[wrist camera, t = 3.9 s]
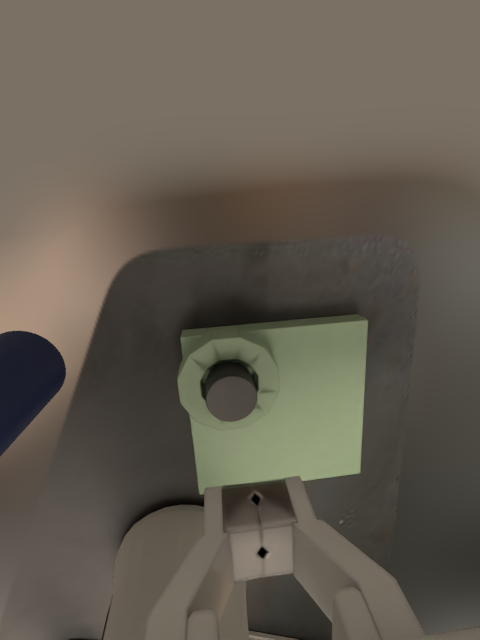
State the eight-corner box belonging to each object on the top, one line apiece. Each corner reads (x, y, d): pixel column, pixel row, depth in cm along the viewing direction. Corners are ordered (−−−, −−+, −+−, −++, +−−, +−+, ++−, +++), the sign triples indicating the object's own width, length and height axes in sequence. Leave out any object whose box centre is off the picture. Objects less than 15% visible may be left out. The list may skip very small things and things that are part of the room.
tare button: (207, 406, 18) (208, 424, 16) (203, 363, 17) (203, 378, 16) (253, 401, 18) (258, 419, 16) (251, 359, 17) (256, 372, 16)
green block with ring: (195, 479, 22) (194, 516, 19) (176, 326, 19) (172, 343, 16) (351, 459, 23) (371, 491, 20) (357, 309, 20) (383, 323, 17)
